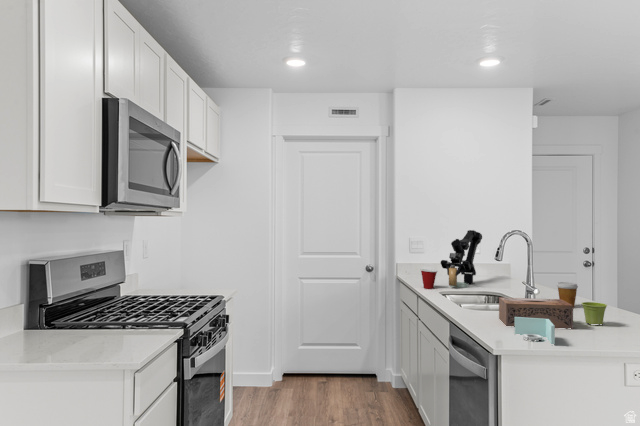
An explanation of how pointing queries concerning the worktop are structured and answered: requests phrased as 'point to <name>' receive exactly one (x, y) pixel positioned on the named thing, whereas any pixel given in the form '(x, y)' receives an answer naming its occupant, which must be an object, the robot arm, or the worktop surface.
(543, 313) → the tissue box cover
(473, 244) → the robot arm
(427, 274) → the plastic cup
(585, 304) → the plant pot
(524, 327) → the right angle wall
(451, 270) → the bottle
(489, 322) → the worktop surface
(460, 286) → the dish
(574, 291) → the disposable coffee cup
